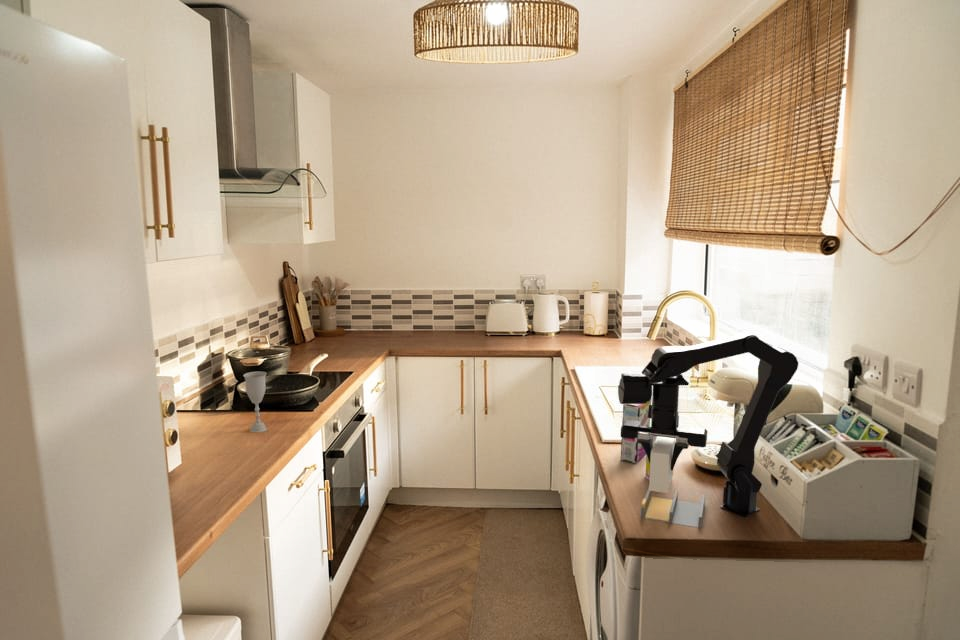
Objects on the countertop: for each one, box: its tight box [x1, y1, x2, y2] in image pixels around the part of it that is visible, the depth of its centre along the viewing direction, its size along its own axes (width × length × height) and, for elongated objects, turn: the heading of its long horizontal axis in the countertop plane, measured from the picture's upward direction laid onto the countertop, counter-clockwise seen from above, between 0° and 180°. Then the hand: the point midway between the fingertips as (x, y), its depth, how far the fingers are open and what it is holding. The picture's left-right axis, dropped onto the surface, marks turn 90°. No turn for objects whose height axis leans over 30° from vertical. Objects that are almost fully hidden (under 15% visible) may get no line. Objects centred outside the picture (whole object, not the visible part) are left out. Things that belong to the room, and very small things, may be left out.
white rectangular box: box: [648, 436, 676, 494], centre depth 157 cm, size 4×12×9 cm, turn 159°
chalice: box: [242, 370, 268, 434], centre depth 213 cm, size 7×7×18 cm
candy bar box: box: [620, 397, 652, 464], centre depth 191 cm, size 11×5×16 cm, turn 149°
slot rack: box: [640, 487, 706, 529], centre depth 157 cm, size 13×13×4 cm
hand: (662, 468), depth 157 cm, fingers closed on white rectangular box, 4 cm apart
